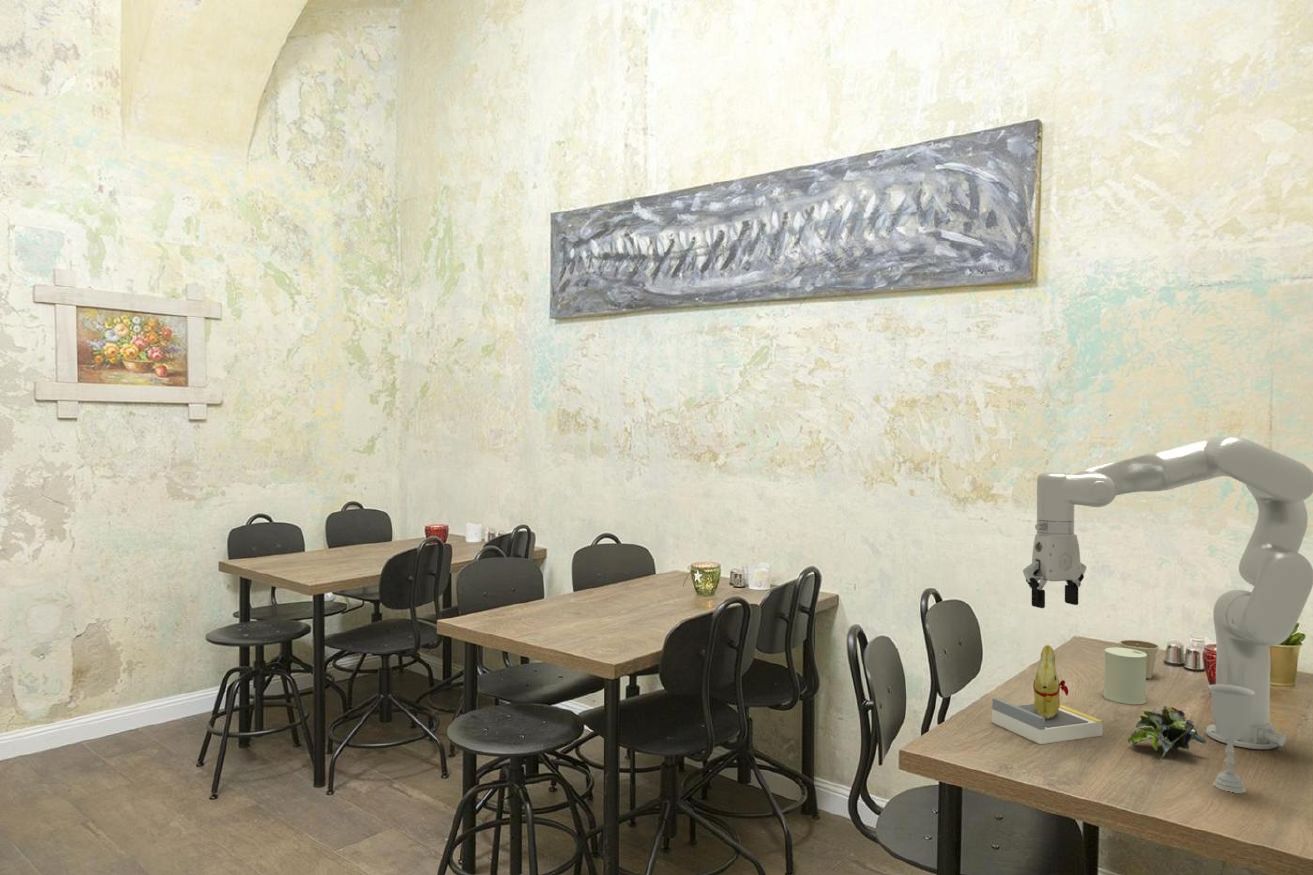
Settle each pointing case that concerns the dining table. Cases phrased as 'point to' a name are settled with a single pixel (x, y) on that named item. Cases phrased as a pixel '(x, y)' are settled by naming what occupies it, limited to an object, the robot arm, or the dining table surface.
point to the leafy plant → (1165, 729)
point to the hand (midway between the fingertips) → (1054, 605)
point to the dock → (1045, 723)
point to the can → (1125, 676)
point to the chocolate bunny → (1047, 685)
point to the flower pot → (1146, 648)
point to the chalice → (1230, 727)
